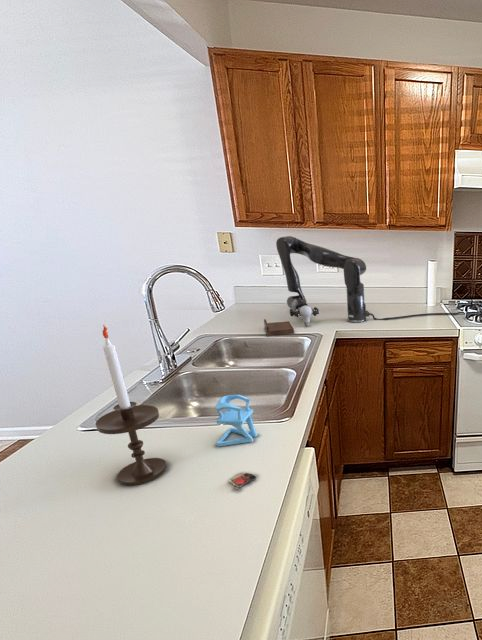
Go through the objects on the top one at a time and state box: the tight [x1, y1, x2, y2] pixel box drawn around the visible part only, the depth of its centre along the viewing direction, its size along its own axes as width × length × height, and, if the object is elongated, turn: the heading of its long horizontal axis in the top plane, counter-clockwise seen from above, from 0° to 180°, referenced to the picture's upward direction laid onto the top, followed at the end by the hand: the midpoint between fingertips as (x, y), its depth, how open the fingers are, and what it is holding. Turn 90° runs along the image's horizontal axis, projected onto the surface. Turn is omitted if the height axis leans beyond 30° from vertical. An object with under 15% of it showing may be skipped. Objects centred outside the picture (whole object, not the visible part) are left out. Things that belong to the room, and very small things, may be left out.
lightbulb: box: [300, 305, 313, 328], centre depth 202 cm, size 6×6×11 cm
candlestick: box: [95, 324, 168, 487], centre depth 84 cm, size 11×11×35 cm
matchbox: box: [229, 472, 257, 490], centre depth 88 cm, size 5×5×1 cm
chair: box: [214, 394, 258, 447], centre depth 102 cm, size 8×8×12 cm
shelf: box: [263, 318, 295, 337], centre depth 195 cm, size 12×15×4 cm
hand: (306, 314), depth 201 cm, fingers open, 8 cm apart
